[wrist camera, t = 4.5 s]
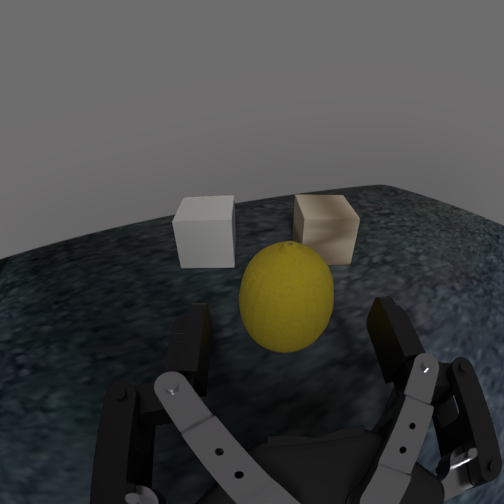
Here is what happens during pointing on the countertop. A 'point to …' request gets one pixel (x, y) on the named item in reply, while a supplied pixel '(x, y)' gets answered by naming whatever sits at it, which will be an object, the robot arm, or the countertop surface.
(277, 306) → the lemon
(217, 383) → the countertop surface
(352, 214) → the birch block
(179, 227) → the off-white block
